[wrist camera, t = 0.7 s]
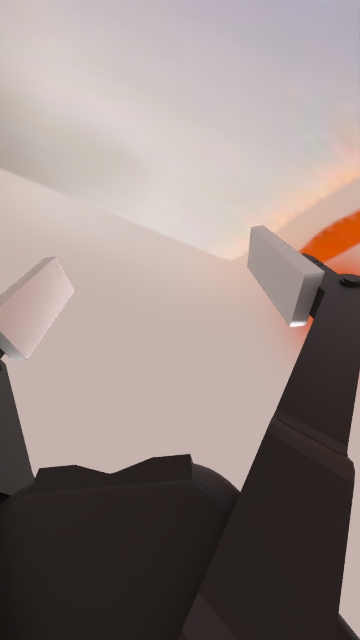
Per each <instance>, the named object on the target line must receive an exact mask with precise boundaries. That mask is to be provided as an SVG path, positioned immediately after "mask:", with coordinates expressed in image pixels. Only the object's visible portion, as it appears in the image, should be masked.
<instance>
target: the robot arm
mask: <svg viewBox="0 0 360 640" xmlns="http://www.w3.org/2000/svg"><path fill="white" fill-rule="evenodd" d="M248 268H249V270H250V271H251V273H252V274H253V276H254V277H255V278H256V280H257V281H258V283H259V284H260V286H261V287H262V288H263V290H264V291H265V293H266V294H267V295H268V297H269V298H270V300H271V301H272V303H273V304H274V306H275V307H276V308H277V310H278V311H279V313H280V314H281V316H282V317H283V318H284V320H285V321H286V323H287V324H288V326H289V327H294V326H302V325H306V324H307V321H308V318H309V315H310V316H311V317H312V318H313V319H314V320H313V323H312V325H311V328H310V330H309V332H308V335H307V337H306V339H305V342H304V344H303V347H302V349H301V352H300V354H299V356H298V359H297V361H296V364H295V366H294V368H293V370H292V373H291V375H290V378H289V380H288V383H287V385H286V387H285V390H284V392H283V394H282V397H281V399H280V402H279V404H278V406H277V409H276V411H275V413H274V416H273V417H272V419H271V421H270V424H269V426H268V428H267V431H266V433H265V435H264V438H263V440H262V442H261V445H260V447H259V449H258V452H257V454H256V457H255V459H254V461H253V464H252V466H251V469H250V471H249V473H248V476H247V478H246V480H245V483H244V485H243V487H242V490H241V492H239V490H238V489H236V487H235V486H233V485H232V484H231V483H230V482H229V481H228V480H227V479H225V478H224V477H223V476H221V475H220V474H218V473H216V472H215V471H213V470H211V469H209V468H207V467H204V466H201V465H197V464H194V463H193V462H192V458H191V455H190V454H186V455H175V456H164V457H153V458H150V459H147V460H145V461H143V462H140V463H138V464H135V465H133V466H130V467H128V468H125V469H123V470H120V471H118V472H115V473H111V474H108V473H104V472H100V471H96V470H93V469H89V468H85V467H81V466H77V465H69V466H58V467H48V468H39V470H38V473H37V475H36V477H34V476H33V473H32V469H31V465H30V461H29V457H28V453H27V449H26V445H25V441H24V437H23V433H22V429H21V425H20V421H19V417H18V413H17V409H16V404H15V400H14V396H13V392H12V389H11V384H10V380H9V376H8V372H7V368H6V364H5V363H4V362H3V361H2V360H0V640H360V639H359V638H358V636H357V635H356V634H355V633H354V631H353V630H352V629H351V628H350V626H349V625H348V624H347V623H346V622H345V620H344V619H343V618H342V617H341V615H340V614H339V613H338V612H339V604H340V596H341V588H342V579H343V571H344V563H345V555H346V547H347V539H348V531H349V523H350V514H351V506H352V498H353V489H354V477H355V469H354V465H353V462H352V461H351V460H350V459H349V458H348V454H347V448H348V442H349V435H350V429H351V422H352V416H353V410H354V403H355V397H356V390H357V384H358V378H359V371H360V276H357V275H353V274H337V273H336V272H334V271H333V270H332V269H330V268H328V267H327V266H326V265H325V266H324V264H323V263H322V262H319V260H317V259H316V258H314V257H313V256H310V255H307V254H304V253H302V254H300V253H299V252H298V251H296V250H295V249H294V248H292V247H291V246H290V245H288V244H287V243H286V242H284V241H283V240H281V239H280V238H279V237H278V236H276V235H275V234H274V233H272V232H271V231H270V230H268V229H267V228H266V227H264V226H256V227H251V233H250V244H249V256H248ZM73 293H74V290H73V288H72V286H71V284H70V282H69V280H68V278H67V276H66V275H65V273H64V271H63V269H62V267H61V265H60V264H59V262H58V260H57V258H56V257H50V258H45V259H43V260H42V261H41V262H40V263H39V264H37V265H36V266H35V267H34V268H33V269H31V270H30V271H29V272H28V273H27V274H25V275H24V276H23V277H22V278H21V279H19V280H18V281H17V282H16V283H15V284H13V285H12V286H11V287H10V288H9V289H7V290H6V291H5V292H4V293H2V294H1V295H0V359H1V357H2V356H3V355H4V354H6V355H7V356H8V357H9V358H10V359H11V360H12V361H19V360H27V359H28V358H29V356H30V355H31V353H32V352H33V351H34V349H35V348H36V346H37V345H38V343H39V342H40V340H41V339H42V337H43V336H44V335H45V333H46V332H47V330H48V329H49V327H50V326H51V324H52V323H53V322H54V320H55V319H56V317H57V316H58V314H59V313H60V312H61V310H62V309H63V307H64V306H65V304H66V303H67V301H68V300H69V299H70V297H71V296H72V294H73Z"/></svg>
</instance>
